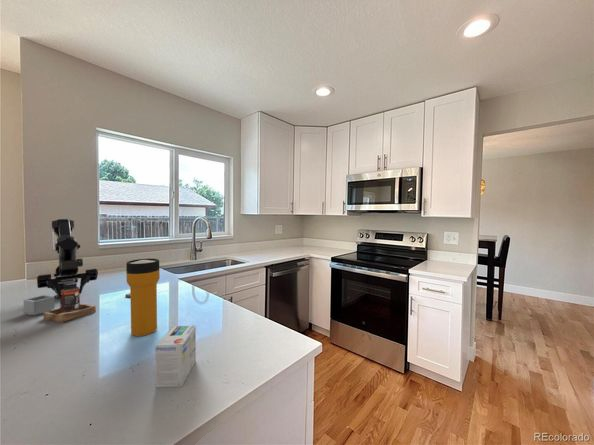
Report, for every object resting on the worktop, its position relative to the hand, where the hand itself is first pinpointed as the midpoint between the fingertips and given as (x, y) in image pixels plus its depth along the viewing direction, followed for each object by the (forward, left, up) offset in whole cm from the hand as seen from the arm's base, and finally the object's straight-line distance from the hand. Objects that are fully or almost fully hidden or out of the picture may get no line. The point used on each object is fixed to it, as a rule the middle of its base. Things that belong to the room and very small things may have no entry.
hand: (70, 295), depth 101 cm
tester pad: (+3, +27, -9) cm, 28 cm away
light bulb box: (+69, -15, -9) cm, 71 cm away
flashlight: (+40, 0, -9) cm, 41 cm away
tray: (-1, +1, -9) cm, 9 cm away
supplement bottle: (-1, +1, -7) cm, 7 cm away
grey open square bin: (-17, -1, -9) cm, 19 cm away
